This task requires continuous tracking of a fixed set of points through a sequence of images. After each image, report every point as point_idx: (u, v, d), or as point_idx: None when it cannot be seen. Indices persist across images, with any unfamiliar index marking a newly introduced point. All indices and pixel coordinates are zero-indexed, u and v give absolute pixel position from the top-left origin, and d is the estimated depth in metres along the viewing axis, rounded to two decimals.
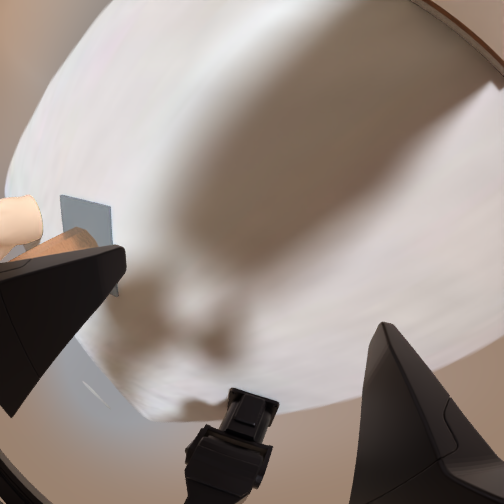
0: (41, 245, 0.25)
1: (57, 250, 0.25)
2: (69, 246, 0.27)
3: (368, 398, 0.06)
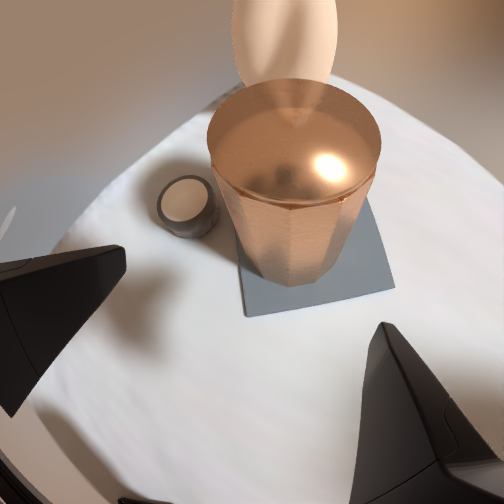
0: None
1: None
2: None
3: (368, 398, 0.06)
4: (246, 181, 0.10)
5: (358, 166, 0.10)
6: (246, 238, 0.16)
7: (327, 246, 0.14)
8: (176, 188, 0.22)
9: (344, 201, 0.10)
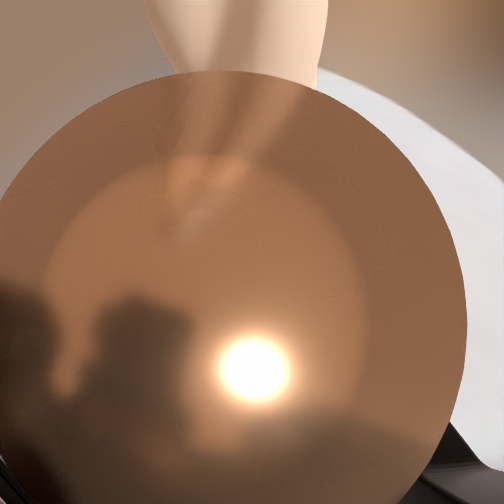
0: None
1: None
2: None
3: None
4: (14, 466, 0.02)
5: None
6: None
7: None
8: None
9: None
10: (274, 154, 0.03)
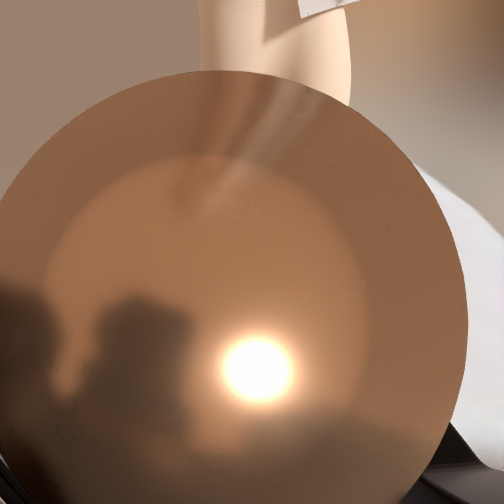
0: None
1: None
2: None
3: None
4: (14, 466, 0.02)
5: None
6: None
7: None
8: None
9: None
10: (275, 154, 0.03)
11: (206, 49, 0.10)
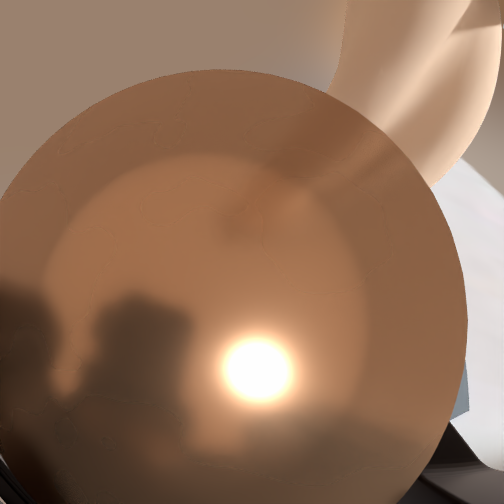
0: None
1: None
2: None
3: None
4: (13, 465, 0.02)
5: None
6: None
7: None
8: None
9: None
10: (274, 152, 0.03)
11: (394, 18, 0.06)
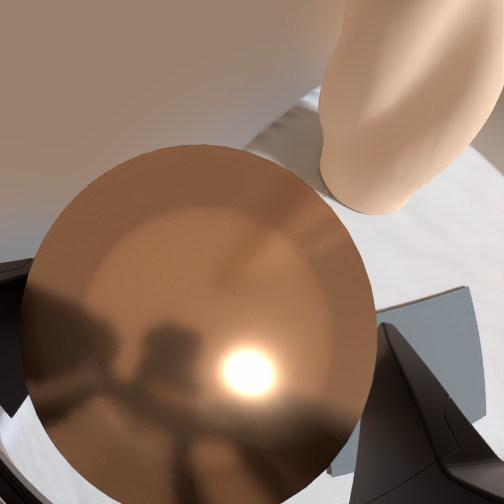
0: None
1: None
2: None
3: (368, 398, 0.06)
4: (65, 450, 0.04)
5: (279, 473, 0.03)
6: None
7: None
8: None
9: None
10: (246, 231, 0.05)
11: None
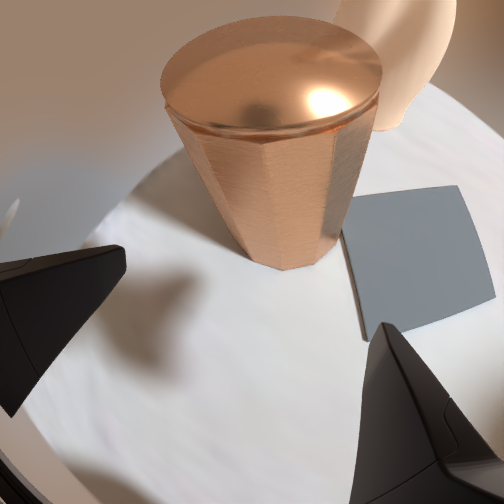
0: None
1: None
2: None
3: (368, 398, 0.06)
4: (200, 112, 0.07)
5: (354, 88, 0.07)
6: (222, 206, 0.13)
7: (323, 209, 0.11)
8: None
9: (338, 131, 0.07)
10: (314, 32, 0.08)
11: None
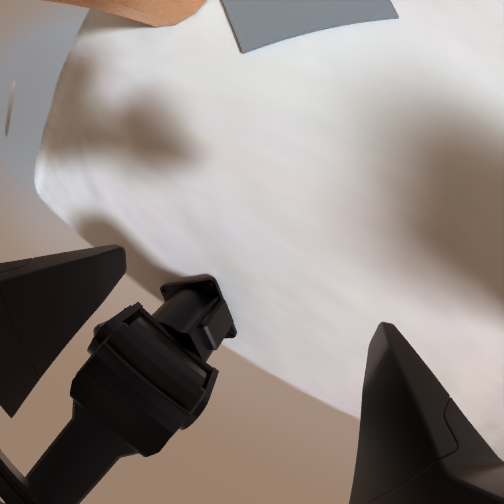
0: None
1: None
2: None
3: (368, 398, 0.06)
4: None
5: None
6: None
7: None
8: None
9: None
10: None
11: None
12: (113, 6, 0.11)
